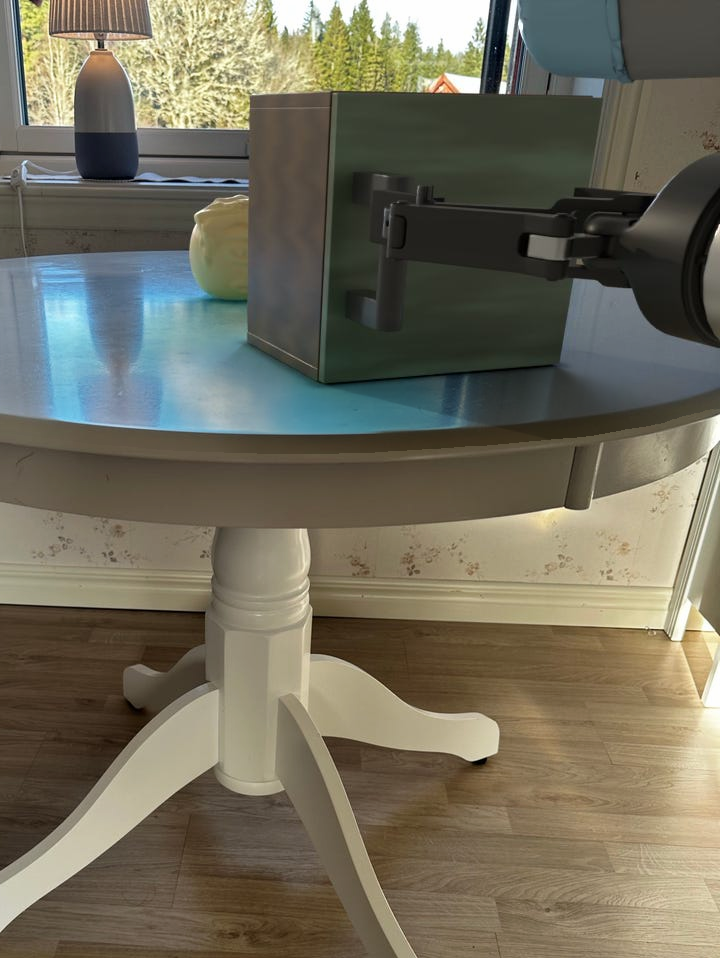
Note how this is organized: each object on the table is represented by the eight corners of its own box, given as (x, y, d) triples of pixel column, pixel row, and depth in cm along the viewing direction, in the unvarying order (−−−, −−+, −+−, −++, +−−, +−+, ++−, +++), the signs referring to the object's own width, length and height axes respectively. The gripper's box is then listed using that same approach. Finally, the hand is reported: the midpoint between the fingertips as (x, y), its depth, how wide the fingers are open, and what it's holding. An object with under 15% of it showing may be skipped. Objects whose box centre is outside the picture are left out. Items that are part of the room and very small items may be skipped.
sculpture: (200, 306, 105) (199, 199, 100) (182, 289, 115) (180, 191, 110) (300, 303, 107) (305, 198, 102) (274, 287, 117) (276, 190, 112)
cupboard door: (606, 380, 76) (660, 96, 67) (357, 402, 69) (378, 90, 60) (552, 361, 82) (595, 97, 72) (318, 380, 75) (331, 92, 66)
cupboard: (550, 362, 82) (593, 95, 73) (316, 381, 75) (330, 90, 66) (452, 328, 95) (478, 98, 86) (246, 342, 89) (249, 94, 79)
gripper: (491, 372, 37) (282, 289, 54) (951, 335, 44) (638, 273, 62) (520, 153, 33) (286, 140, 51) (1016, 154, 41) (664, 142, 58)
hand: (479, 213), depth 56 cm, fingers open, 13 cm apart
